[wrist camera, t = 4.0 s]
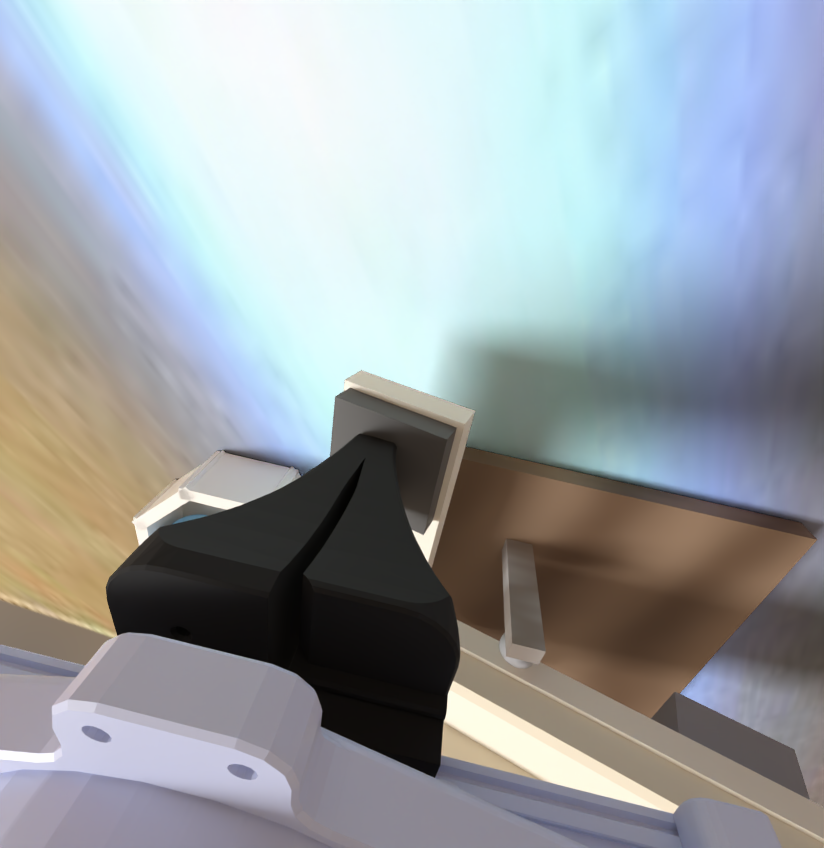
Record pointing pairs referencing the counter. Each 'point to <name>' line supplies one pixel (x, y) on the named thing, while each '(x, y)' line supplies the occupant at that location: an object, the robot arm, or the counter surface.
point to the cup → (212, 490)
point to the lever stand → (605, 573)
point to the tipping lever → (555, 692)
